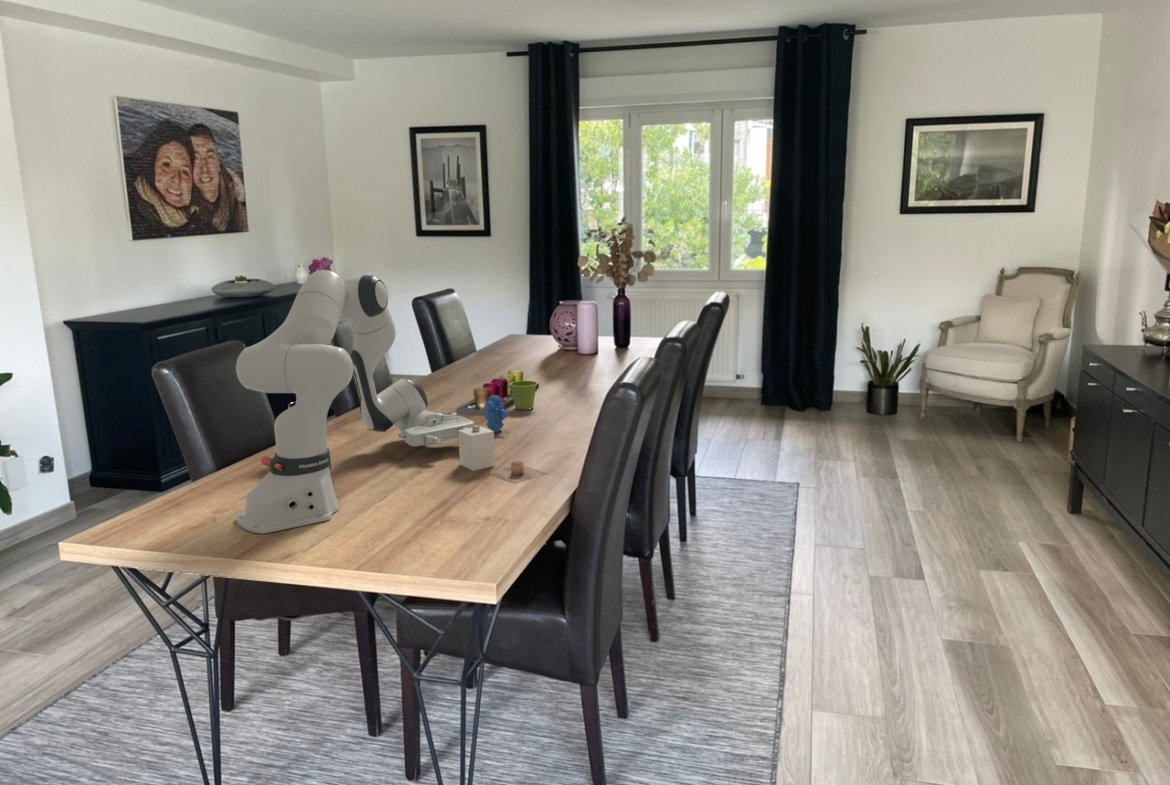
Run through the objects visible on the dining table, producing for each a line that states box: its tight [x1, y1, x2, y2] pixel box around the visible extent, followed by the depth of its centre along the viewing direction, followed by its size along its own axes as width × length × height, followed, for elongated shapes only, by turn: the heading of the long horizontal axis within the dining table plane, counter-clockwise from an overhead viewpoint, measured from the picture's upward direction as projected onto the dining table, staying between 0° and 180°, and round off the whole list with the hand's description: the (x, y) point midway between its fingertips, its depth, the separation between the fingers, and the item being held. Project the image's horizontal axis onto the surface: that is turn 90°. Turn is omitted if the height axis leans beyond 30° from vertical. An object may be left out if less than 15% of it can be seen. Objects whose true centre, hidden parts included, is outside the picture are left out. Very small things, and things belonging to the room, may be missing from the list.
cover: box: [458, 424, 496, 472], centre depth 226 cm, size 7×7×11 cm
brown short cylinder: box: [510, 460, 525, 476], centre depth 220 cm, size 3×3×3 cm
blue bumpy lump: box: [484, 394, 509, 434], centre depth 260 cm, size 12×7×12 cm, turn 164°
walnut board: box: [487, 464, 549, 484], centre depth 220 cm, size 11×11×1 cm
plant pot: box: [508, 380, 538, 410], centre depth 290 cm, size 9×9×9 cm
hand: (453, 438), depth 235 cm, fingers open, 8 cm apart
